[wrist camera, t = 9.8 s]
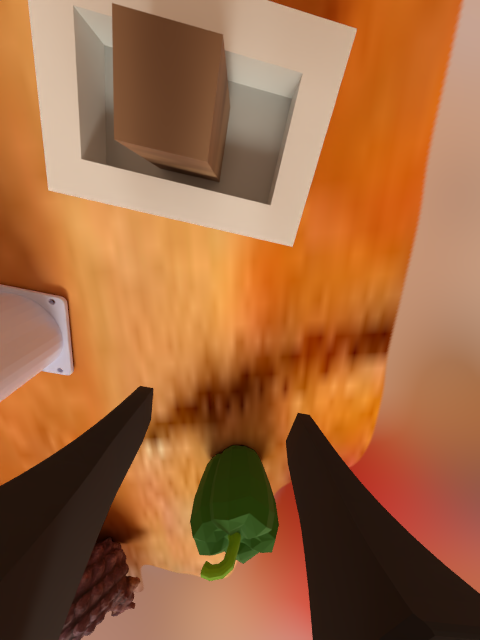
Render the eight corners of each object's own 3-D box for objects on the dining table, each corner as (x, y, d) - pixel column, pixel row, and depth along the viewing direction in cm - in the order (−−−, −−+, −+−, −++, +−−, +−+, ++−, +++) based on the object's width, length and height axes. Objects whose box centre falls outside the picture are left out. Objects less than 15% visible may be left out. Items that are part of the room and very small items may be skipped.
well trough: (81, 195, 16) (48, 190, 13) (69, -12, 12) (19, -79, 9) (284, 242, 17) (292, 246, 15) (333, 67, 13) (357, 28, 11)
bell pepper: (282, 444, 26) (304, 564, 17) (256, 486, 30) (263, 606, 20) (212, 427, 25) (196, 544, 16) (193, 472, 28) (171, 592, 19)
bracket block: (160, 168, 15) (114, 139, 10) (164, 90, 14) (111, 2, 8) (219, 182, 15) (207, 161, 10) (230, 107, 14) (223, 34, 8)
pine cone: (31, 536, 35) (-44, 649, 26) (43, 503, 31) (-39, 620, 22) (141, 564, 38) (110, 673, 29) (164, 537, 35) (136, 651, 26)
